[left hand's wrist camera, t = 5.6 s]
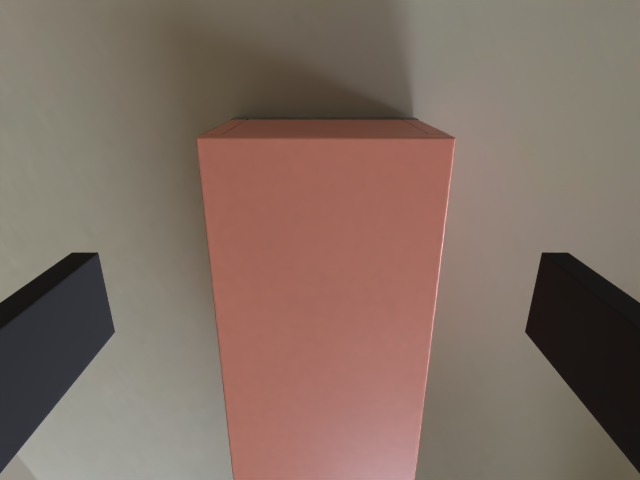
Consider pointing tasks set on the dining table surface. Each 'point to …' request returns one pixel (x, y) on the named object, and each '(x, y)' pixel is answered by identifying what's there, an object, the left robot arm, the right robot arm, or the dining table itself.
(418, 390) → the salmon pink box
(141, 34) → the dining table surface
